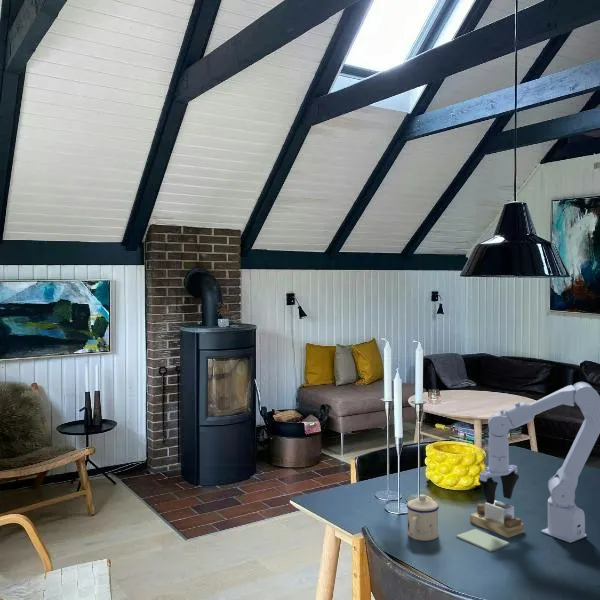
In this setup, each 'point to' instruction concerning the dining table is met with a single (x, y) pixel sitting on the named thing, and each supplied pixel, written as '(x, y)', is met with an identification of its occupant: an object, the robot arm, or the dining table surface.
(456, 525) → the dining table surface
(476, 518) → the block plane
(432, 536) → the teacup with lid
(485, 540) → the mat
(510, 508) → the pale grey box
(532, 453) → the dining table surface
